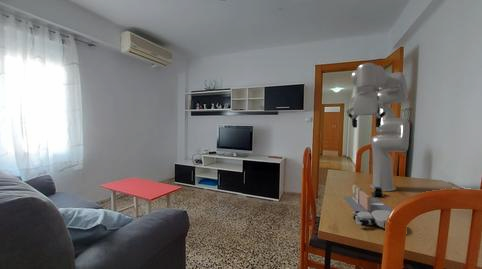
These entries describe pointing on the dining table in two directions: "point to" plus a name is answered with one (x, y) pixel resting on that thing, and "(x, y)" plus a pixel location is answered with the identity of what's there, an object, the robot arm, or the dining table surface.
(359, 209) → the board
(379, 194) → the black block
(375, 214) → the robot toy
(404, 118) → the robot arm
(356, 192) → the fixed fence panel
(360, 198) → the folding fence panel
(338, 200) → the dining table surface
